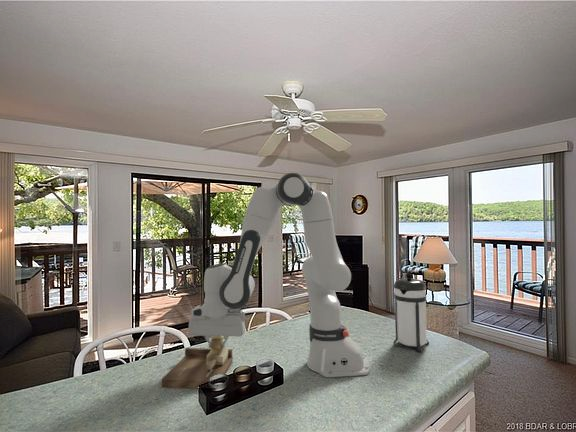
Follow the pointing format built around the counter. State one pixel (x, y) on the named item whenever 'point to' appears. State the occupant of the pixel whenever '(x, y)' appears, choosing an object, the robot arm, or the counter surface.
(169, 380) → the walnut board
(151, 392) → the counter surface
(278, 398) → the counter surface
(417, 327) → the coffee press
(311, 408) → the counter surface
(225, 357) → the marking slider
